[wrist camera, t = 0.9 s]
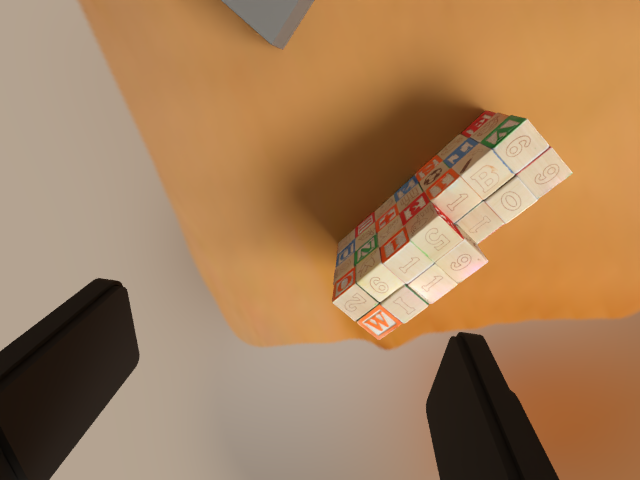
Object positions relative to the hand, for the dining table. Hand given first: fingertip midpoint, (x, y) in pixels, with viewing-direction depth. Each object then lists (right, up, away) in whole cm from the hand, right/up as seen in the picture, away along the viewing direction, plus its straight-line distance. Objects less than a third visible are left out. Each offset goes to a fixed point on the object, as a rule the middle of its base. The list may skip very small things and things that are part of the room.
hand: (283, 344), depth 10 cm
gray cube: (-3, +25, +21) cm, 33 cm away
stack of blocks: (+13, +7, +28) cm, 32 cm away
